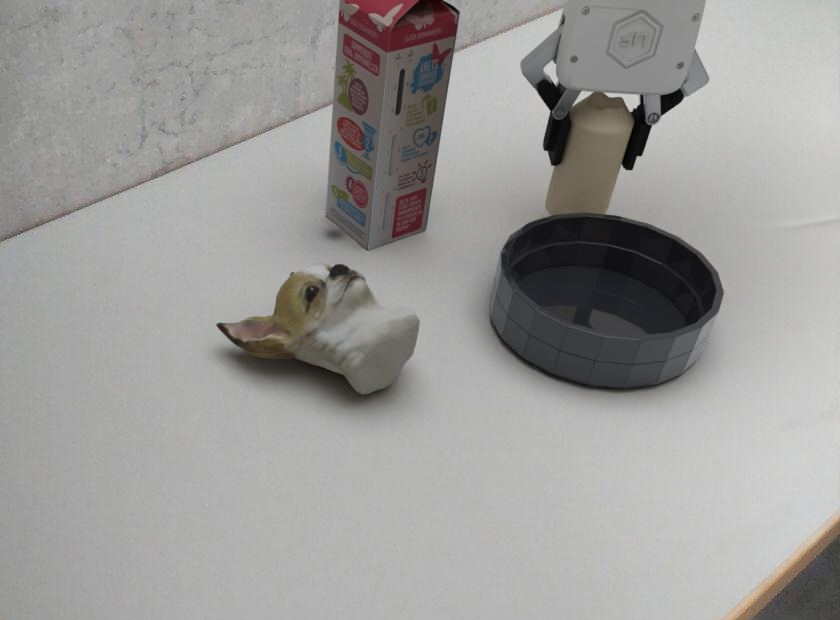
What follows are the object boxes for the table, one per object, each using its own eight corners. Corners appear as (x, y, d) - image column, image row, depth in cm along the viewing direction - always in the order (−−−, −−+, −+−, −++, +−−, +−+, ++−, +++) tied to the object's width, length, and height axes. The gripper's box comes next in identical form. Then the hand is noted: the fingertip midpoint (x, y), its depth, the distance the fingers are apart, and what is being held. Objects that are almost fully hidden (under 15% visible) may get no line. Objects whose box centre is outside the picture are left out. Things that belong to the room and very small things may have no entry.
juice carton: (382, 196, 90) (412, -66, 74) (426, 230, 87) (467, -38, 70) (325, 215, 88) (342, -53, 71) (367, 250, 84) (396, -23, 68)
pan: (602, 245, 86) (618, 194, 82) (745, 352, 77) (770, 300, 73) (448, 295, 80) (457, 243, 76) (581, 418, 71) (600, 365, 67)
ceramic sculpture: (375, 335, 62) (204, 260, 68) (369, 436, 68) (212, 360, 74) (461, 266, 68) (296, 203, 74) (448, 366, 74) (296, 300, 80)
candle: (533, 198, 87) (560, 87, 79) (586, 190, 88) (618, 81, 81) (562, 230, 84) (593, 118, 76) (616, 221, 85) (652, 110, 77)
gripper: (544, -68, 66) (494, 176, 80) (790, -53, 66) (697, 188, 80) (532, -102, 71) (486, 134, 85) (760, -88, 71) (678, 145, 85)
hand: (589, 158), depth 82 cm, fingers closed on candle, 5 cm apart
